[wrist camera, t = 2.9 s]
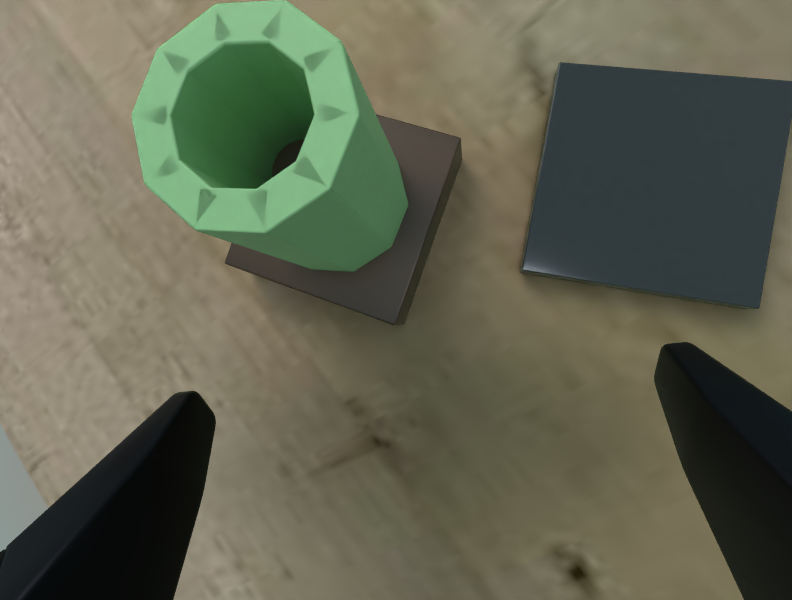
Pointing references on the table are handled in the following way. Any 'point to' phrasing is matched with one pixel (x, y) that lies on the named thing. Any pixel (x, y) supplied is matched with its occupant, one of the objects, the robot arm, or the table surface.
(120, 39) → the table surface
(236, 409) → the table surface
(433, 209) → the stacking stand
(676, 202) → the slate coaster
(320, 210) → the green faceted hollow cylinder
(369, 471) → the table surface
